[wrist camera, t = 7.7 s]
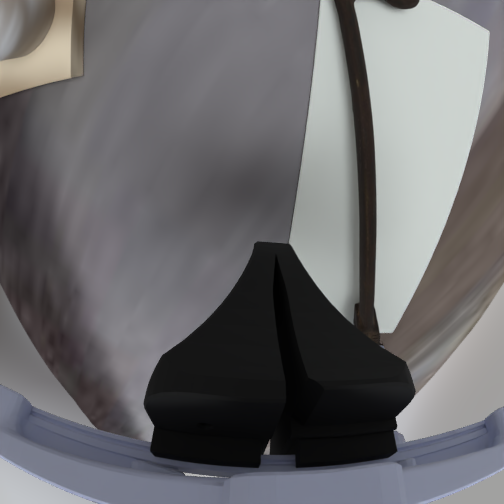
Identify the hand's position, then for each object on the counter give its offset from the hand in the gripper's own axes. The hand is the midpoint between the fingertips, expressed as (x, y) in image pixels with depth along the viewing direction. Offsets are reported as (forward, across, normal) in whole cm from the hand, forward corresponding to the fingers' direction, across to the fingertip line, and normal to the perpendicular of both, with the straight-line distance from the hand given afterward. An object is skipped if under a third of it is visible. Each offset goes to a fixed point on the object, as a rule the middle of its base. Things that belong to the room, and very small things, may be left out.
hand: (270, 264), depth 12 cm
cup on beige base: (+8, +16, -12) cm, 22 cm away
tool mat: (+8, -8, 0) cm, 12 cm away
